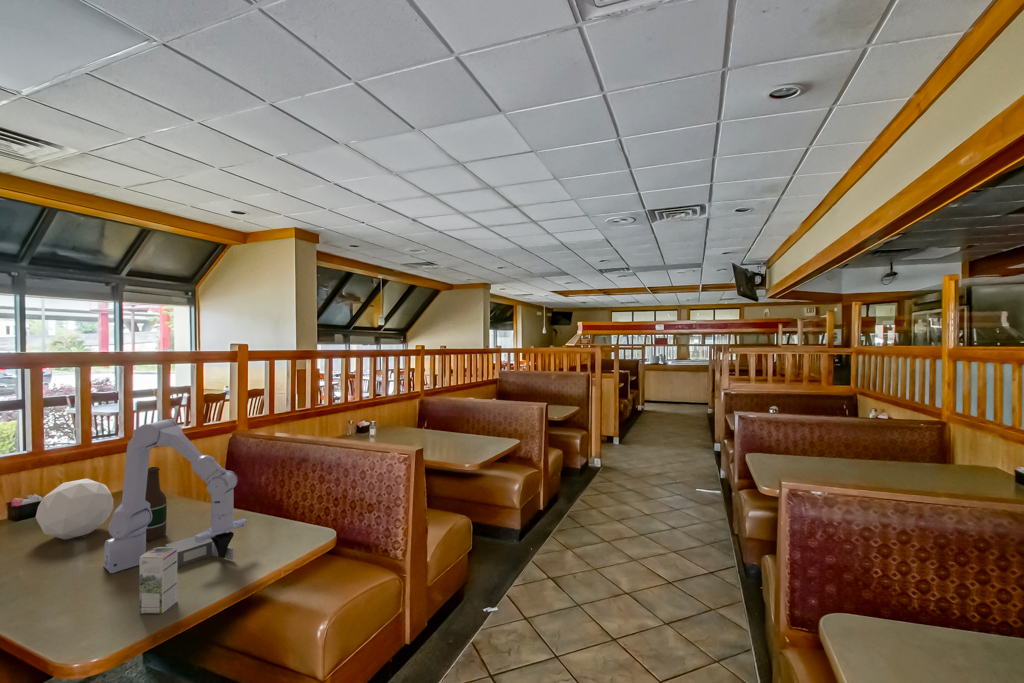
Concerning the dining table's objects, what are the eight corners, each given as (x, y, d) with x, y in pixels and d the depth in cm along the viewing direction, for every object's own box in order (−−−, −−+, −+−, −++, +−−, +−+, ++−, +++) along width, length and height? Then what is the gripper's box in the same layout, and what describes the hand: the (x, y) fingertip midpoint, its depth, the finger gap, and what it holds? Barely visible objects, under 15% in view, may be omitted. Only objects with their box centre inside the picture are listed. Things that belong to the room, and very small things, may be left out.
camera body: (170, 569, 133) (171, 552, 133) (160, 560, 139) (160, 544, 139) (220, 553, 144) (220, 537, 144) (208, 545, 149) (208, 530, 149)
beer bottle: (172, 533, 159) (172, 465, 159) (152, 542, 151) (153, 471, 151) (151, 532, 159) (152, 464, 159) (131, 541, 152) (131, 470, 152)
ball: (62, 554, 157) (52, 501, 163) (130, 524, 165) (118, 475, 172) (24, 548, 141) (15, 490, 147) (102, 515, 149) (91, 462, 156)
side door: (233, 559, 139) (233, 547, 139) (231, 560, 138) (231, 548, 138) (213, 554, 142) (214, 542, 142) (211, 555, 142) (211, 543, 142)
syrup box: (178, 601, 117) (178, 545, 117) (161, 614, 111) (162, 556, 111) (156, 601, 117) (156, 545, 117) (137, 615, 111) (138, 556, 111)
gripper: (205, 523, 130) (204, 570, 130) (253, 507, 143) (252, 550, 143) (191, 519, 133) (190, 565, 133) (239, 503, 146) (238, 545, 146)
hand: (221, 557), depth 138 cm, fingers closed
